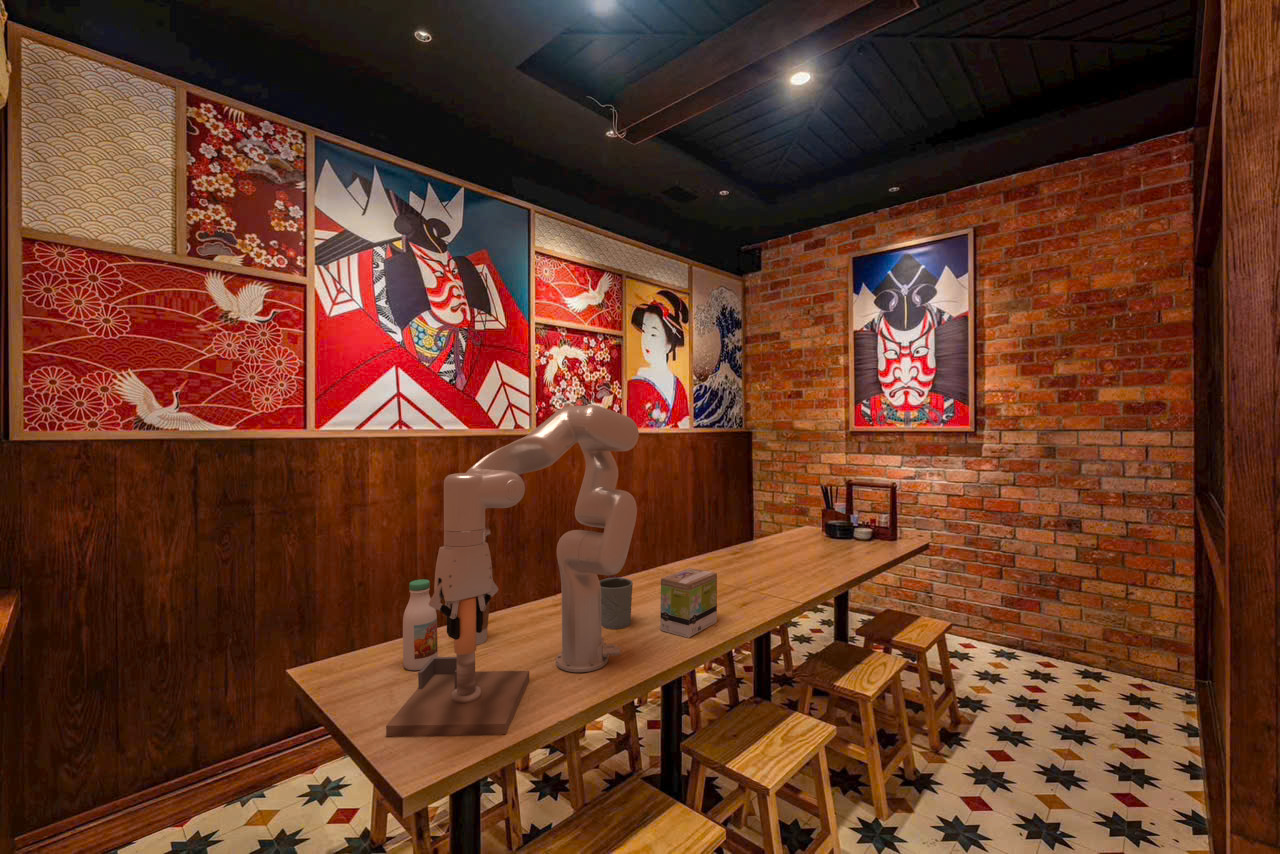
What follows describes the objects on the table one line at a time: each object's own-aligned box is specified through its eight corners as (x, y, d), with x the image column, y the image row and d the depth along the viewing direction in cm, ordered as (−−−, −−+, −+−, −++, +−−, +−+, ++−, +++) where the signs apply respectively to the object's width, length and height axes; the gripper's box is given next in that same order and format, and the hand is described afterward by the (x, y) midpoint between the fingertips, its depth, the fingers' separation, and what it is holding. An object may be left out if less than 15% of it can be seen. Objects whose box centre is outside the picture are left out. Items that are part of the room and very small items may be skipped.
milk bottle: (400, 673, 127) (399, 587, 127) (405, 659, 134) (404, 578, 134) (436, 668, 129) (435, 584, 129) (439, 655, 136) (437, 575, 136)
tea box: (690, 639, 145) (689, 583, 145) (659, 631, 151) (658, 577, 151) (718, 622, 157) (717, 571, 157) (688, 615, 163) (687, 566, 163)
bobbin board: (529, 679, 123) (528, 604, 123) (505, 734, 101) (504, 642, 101) (431, 681, 123) (430, 605, 123) (386, 736, 101) (385, 644, 101)
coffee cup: (479, 632, 152) (478, 578, 152) (498, 639, 146) (497, 583, 146) (452, 642, 145) (451, 585, 145) (470, 650, 140) (469, 591, 140)
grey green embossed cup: (635, 618, 161) (634, 577, 161) (631, 631, 151) (630, 587, 151) (601, 617, 162) (600, 577, 162) (595, 630, 152) (594, 587, 152)
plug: (478, 646, 106) (478, 594, 106) (473, 654, 102) (472, 600, 102) (458, 646, 106) (457, 594, 106) (451, 654, 102) (451, 601, 102)
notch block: (469, 672, 122) (469, 656, 122) (458, 688, 115) (458, 671, 115) (432, 672, 122) (431, 657, 122) (418, 689, 115) (418, 672, 115)
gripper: (492, 529, 113) (493, 618, 113) (412, 542, 101) (413, 641, 100) (513, 534, 108) (513, 627, 108) (431, 547, 96) (432, 652, 95)
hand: (465, 633), depth 104 cm, fingers closed on plug, 4 cm apart
